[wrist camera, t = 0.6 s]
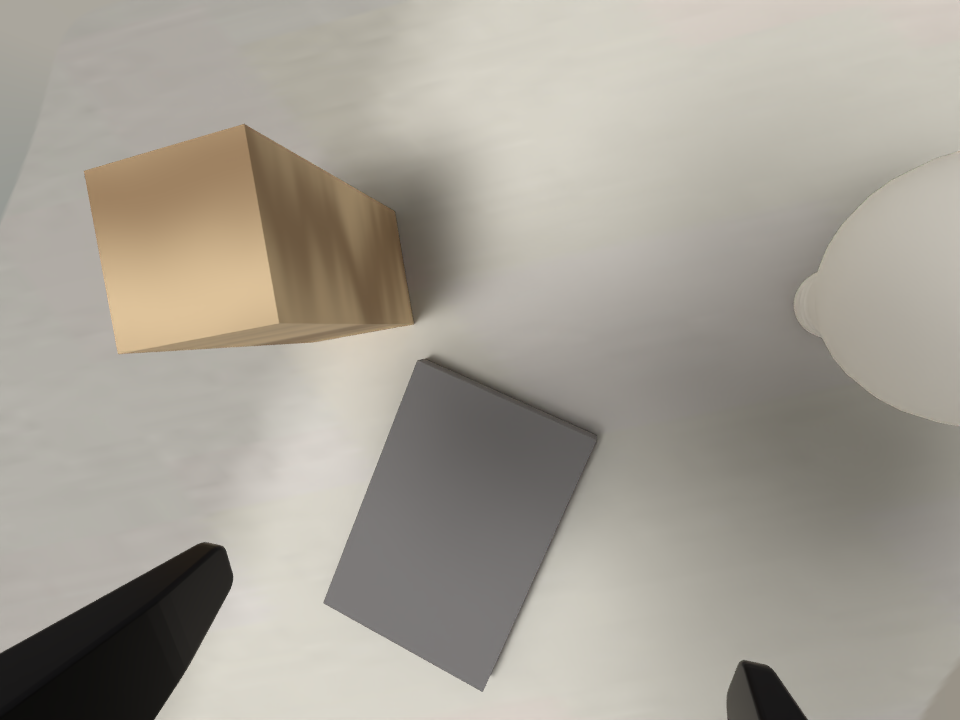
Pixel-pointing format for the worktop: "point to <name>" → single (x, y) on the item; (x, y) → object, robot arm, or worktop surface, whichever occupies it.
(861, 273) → the lightbulb
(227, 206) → the oak block
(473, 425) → the charcoal mat
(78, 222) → the worktop surface
